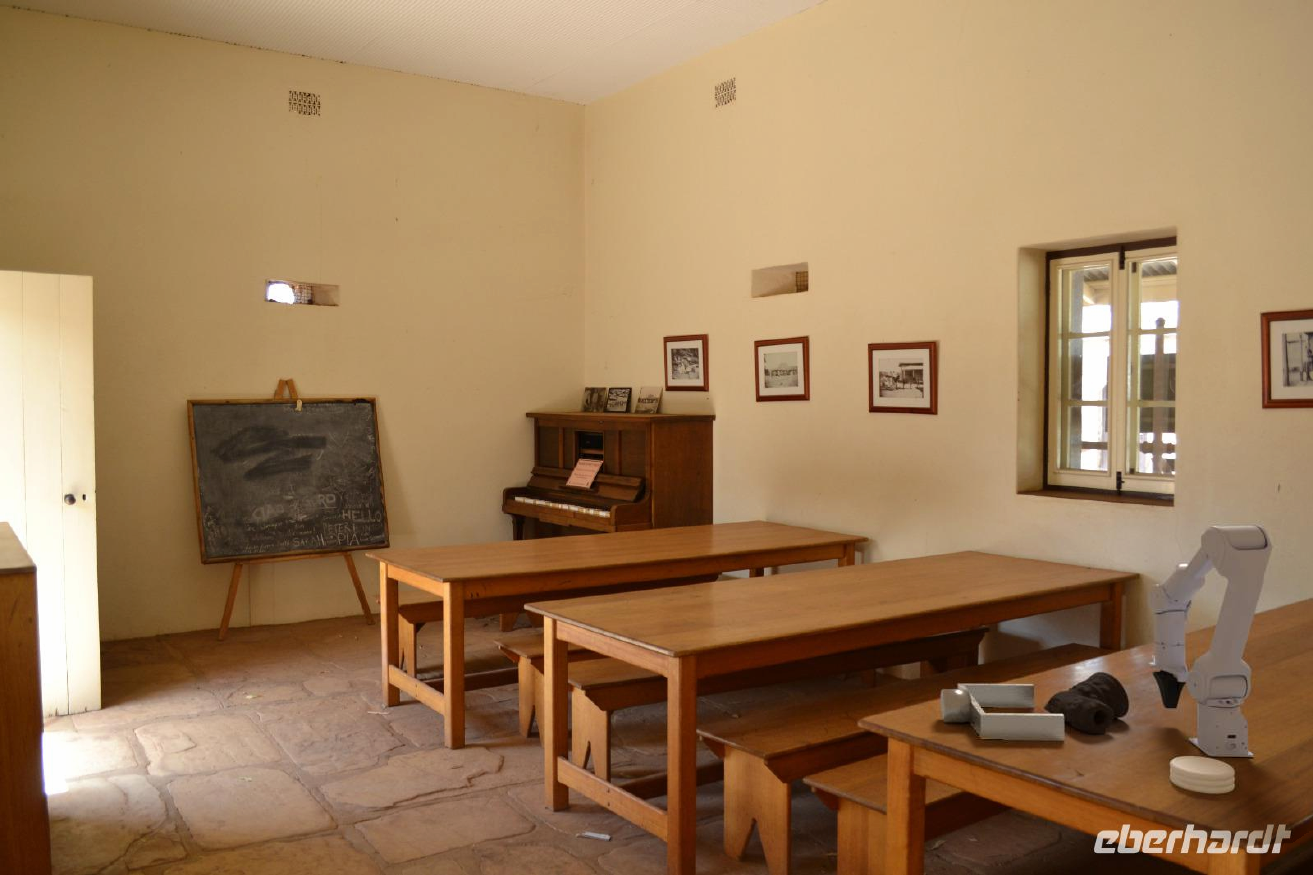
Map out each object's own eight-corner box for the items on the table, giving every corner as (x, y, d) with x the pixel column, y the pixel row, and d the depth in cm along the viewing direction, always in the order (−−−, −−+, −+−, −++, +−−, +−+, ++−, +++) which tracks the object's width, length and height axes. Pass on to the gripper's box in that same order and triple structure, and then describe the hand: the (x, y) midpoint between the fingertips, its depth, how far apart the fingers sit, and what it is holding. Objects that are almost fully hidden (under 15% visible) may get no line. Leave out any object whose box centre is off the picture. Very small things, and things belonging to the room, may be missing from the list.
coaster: (1208, 772, 183) (1207, 753, 183) (1248, 792, 173) (1248, 772, 173) (1157, 776, 181) (1157, 757, 181) (1195, 797, 172) (1195, 776, 171)
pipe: (1080, 700, 203) (1139, 680, 207) (1031, 686, 217) (1088, 667, 221) (1089, 747, 203) (1148, 726, 207) (1040, 730, 217) (1096, 710, 222)
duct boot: (1064, 740, 201) (1064, 706, 201) (954, 739, 203) (953, 705, 203) (1032, 706, 224) (1032, 676, 224) (934, 705, 226) (933, 675, 226)
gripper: (1136, 634, 217) (1137, 697, 218) (1163, 650, 203) (1163, 717, 203) (1171, 634, 217) (1171, 697, 217) (1200, 650, 202) (1200, 718, 203)
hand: (1170, 707), depth 210 cm, fingers closed
